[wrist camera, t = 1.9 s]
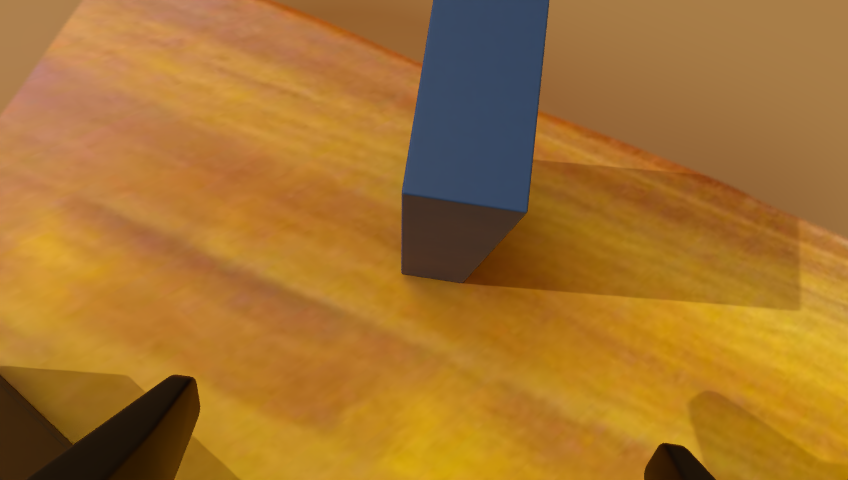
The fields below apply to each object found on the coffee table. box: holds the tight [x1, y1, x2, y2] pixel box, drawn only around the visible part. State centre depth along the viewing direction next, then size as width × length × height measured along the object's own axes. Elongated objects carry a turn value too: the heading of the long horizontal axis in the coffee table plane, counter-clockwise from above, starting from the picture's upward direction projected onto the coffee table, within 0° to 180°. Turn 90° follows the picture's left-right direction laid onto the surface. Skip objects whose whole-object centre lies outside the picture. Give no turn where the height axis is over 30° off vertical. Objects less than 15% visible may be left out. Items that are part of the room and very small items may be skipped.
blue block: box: [401, 0, 549, 283], centre depth 18 cm, size 3×6×12 cm, turn 172°
